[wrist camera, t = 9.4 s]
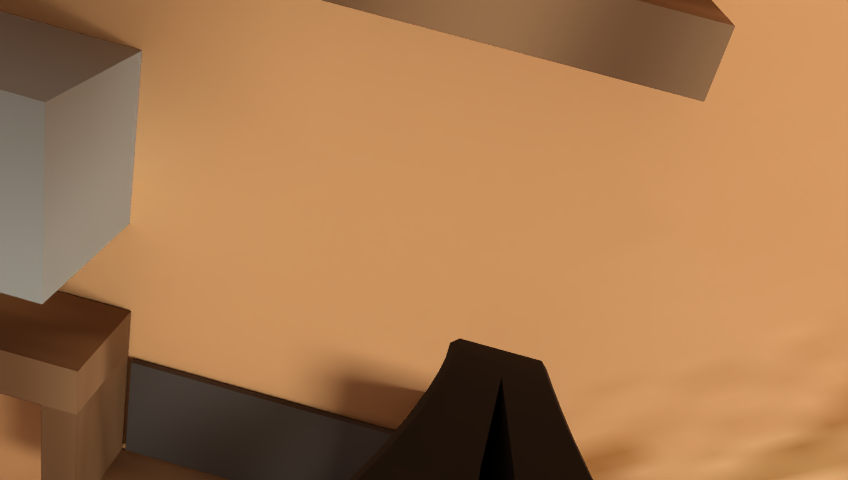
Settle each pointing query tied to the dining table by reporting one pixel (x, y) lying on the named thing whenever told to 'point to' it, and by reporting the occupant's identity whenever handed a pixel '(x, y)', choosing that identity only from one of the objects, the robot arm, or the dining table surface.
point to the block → (62, 151)
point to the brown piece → (260, 414)
